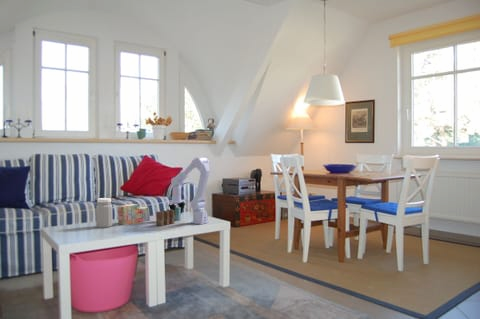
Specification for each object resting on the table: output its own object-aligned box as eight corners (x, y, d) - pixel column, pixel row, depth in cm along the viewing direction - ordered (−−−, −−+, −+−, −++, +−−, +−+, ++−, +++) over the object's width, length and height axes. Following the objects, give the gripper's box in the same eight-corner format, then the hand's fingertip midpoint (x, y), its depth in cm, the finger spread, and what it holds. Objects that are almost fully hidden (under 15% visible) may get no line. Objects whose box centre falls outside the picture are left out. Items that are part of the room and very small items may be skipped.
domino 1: (158, 225, 253) (158, 211, 253) (163, 226, 250) (163, 212, 250) (156, 225, 252) (156, 211, 251) (161, 226, 249) (161, 212, 249)
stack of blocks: (143, 219, 274) (143, 202, 274) (149, 220, 270) (149, 203, 270) (117, 224, 257) (117, 205, 257) (123, 225, 253) (123, 206, 253)
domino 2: (163, 223, 257) (163, 210, 257) (169, 224, 255) (169, 211, 254) (161, 224, 256) (161, 210, 256) (167, 225, 253) (167, 211, 253)
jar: (107, 228, 242) (107, 199, 241) (93, 227, 244) (92, 199, 243) (115, 225, 251) (115, 197, 251) (101, 225, 253) (101, 197, 253)
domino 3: (168, 222, 262) (168, 209, 261) (174, 223, 259) (174, 210, 259) (166, 223, 260) (166, 209, 260) (172, 223, 257) (172, 210, 257)
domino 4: (175, 219, 274) (175, 206, 274) (180, 220, 271) (180, 207, 271) (173, 220, 272) (173, 207, 272) (178, 220, 270) (178, 207, 269)
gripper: (179, 193, 280) (179, 212, 280) (165, 195, 267) (165, 214, 268) (187, 193, 276) (187, 212, 276) (173, 195, 263) (173, 215, 264)
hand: (176, 214), depth 272 cm, fingers open, 7 cm apart
